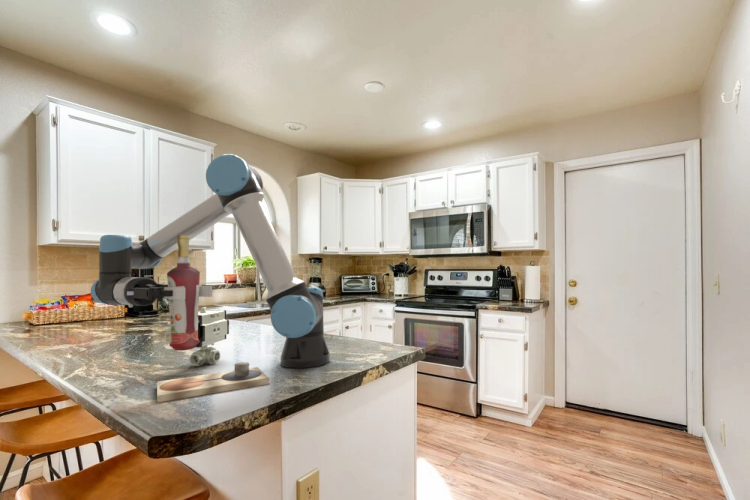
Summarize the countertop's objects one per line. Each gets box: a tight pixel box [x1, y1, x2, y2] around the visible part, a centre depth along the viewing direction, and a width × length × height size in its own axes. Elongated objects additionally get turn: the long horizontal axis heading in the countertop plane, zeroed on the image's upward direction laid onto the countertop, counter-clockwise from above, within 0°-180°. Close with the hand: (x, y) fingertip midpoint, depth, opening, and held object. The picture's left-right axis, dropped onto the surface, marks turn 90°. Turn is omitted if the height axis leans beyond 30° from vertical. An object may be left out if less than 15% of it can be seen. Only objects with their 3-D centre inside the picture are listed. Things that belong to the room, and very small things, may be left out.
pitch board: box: [156, 361, 270, 403], centre depth 99 cm, size 25×13×4 cm, turn 119°
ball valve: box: [188, 306, 230, 367], centre depth 123 cm, size 18×8×18 cm, turn 168°
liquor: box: [166, 235, 201, 352], centre depth 96 cm, size 7×7×28 cm
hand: (198, 292), depth 94 cm, fingers closed on liquor, 7 cm apart
